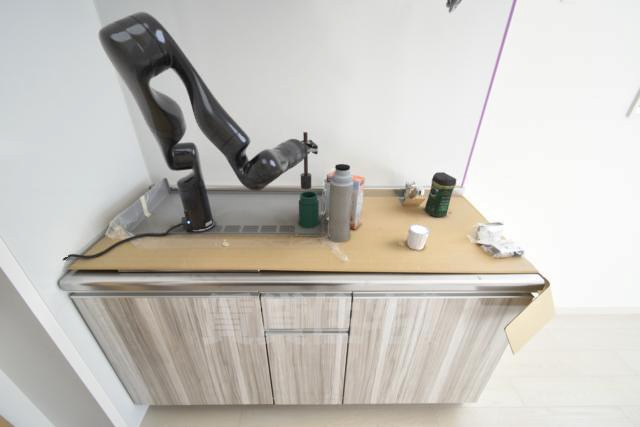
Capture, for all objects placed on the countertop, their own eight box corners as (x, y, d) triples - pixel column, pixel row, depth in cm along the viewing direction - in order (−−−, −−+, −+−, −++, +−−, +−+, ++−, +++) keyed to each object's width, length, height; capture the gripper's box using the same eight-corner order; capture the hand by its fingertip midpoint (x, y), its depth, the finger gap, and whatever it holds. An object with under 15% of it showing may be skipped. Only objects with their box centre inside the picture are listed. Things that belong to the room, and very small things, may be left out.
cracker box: (360, 223, 101) (365, 176, 91) (354, 230, 97) (359, 181, 87) (331, 214, 108) (333, 169, 98) (324, 220, 103) (326, 174, 93)
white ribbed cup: (424, 242, 90) (429, 226, 87) (425, 252, 85) (430, 236, 81) (405, 238, 92) (409, 222, 89) (405, 248, 86) (408, 232, 83)
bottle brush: (303, 190, 88) (302, 133, 79) (299, 186, 91) (297, 131, 82) (313, 188, 90) (313, 132, 80) (308, 184, 93) (308, 130, 84)
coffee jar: (449, 217, 107) (461, 178, 98) (432, 218, 106) (444, 178, 97) (437, 207, 116) (447, 170, 107) (421, 208, 114) (430, 171, 106)
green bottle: (304, 229, 97) (303, 200, 90) (296, 220, 103) (295, 192, 96) (321, 225, 100) (322, 196, 94) (313, 216, 106) (313, 189, 100)
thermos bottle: (349, 231, 96) (355, 163, 82) (347, 243, 89) (354, 170, 75) (330, 229, 97) (332, 161, 84) (326, 240, 90) (329, 168, 77)
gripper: (310, 143, 68) (327, 132, 82) (266, 139, 71) (290, 130, 86) (310, 169, 71) (326, 154, 86) (269, 164, 75) (291, 151, 89)
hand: (308, 142), depth 86 cm, fingers closed on bottle brush, 1 cm apart
